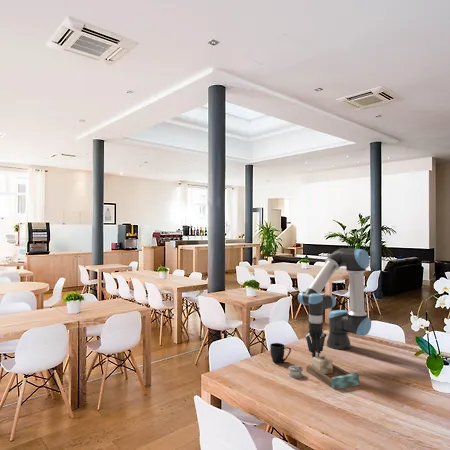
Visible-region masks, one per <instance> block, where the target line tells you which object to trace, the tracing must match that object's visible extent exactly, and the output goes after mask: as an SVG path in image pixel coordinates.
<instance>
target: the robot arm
mask: <svg viewBox="0 0 450 450" xmlns="http://www.w3.org/2000/svg"><path fill="white" fill-rule="evenodd" d="M370 261H371V260H370V256H369V254H368V251H367V250H365V249H360V248H345V247H342V248H339V249H336V250H334V251H333V252H332V253H331V254H330V255H328V257H327V258H326V259H325V261H324V264H323V266H322V268H321V269H320V270H319V272H318V273H317V275H316V276H315V277H314V279H313V280H312V282H311V283H310V284H309V286H308V288H307V289H306V290H305V291H300V292H299V293H298V295H297V301H298V303H299V304H302V305H304V306H308V334H304V338H305V339H306V344H307V348H308V352H310V353H311V358H312V357H318V356H320V354H321V352H323V351H324V345H325V341H326V346H327V347H328V348H331V349H334V350H335V349H336V350H348V349H350V348H351V341H350V337H349V334H351V335H352V334H353V335H356V336H361V337H365V336H367V335H368V334H369V333H370V331H371V328H372V320H371V318H370V317H368V313H367V312H366V310H365V285H364V284H365V282H364V273H365V272H366V271H367V269H368V268H369V266H370V263H371V262H370ZM341 267H345V269H346V271H347V272H348V283H349V284H348V285H349V287H348V288H349V290H348V291H349V311H348V310H345V309H337V310H332V311H329V314H328V315H329V317H328V323H329V324H328V331H329V332H328V336H327V333H324V330H323V329H324V328H323V326H324V325H323V320H324V317H323V315H324V314H323V312H324V310H325V311H326V310H327V309H328V310H329V309H332V308H334V307H335V306H336V304H337V299H336V298H335V296H334V295H332V294H321V292H323V290H324V288H325V286H326V285H327V284H328V282H329V280H330V279H331V278H332V276H333V275H334V273H335V272H336V271H338V270H339V269H340V268H341ZM348 333H349V334H348ZM326 338H327V339H326Z"/></svg>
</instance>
